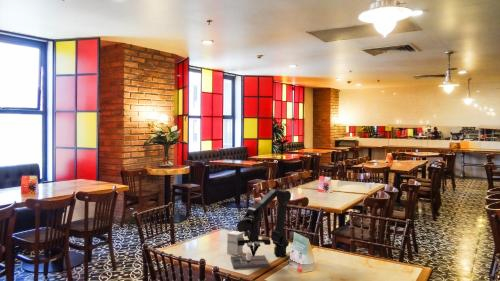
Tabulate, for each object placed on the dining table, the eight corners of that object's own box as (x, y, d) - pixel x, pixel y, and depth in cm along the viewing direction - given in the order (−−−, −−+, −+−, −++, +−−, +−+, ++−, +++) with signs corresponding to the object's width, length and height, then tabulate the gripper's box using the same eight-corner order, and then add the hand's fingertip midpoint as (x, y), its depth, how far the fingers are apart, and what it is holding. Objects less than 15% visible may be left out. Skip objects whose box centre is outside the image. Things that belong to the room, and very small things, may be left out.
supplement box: (226, 253, 236) (226, 233, 235) (232, 250, 242) (233, 230, 242) (237, 255, 233) (237, 234, 232) (243, 252, 239) (243, 231, 238)
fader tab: (249, 258, 221) (249, 250, 221) (250, 260, 218) (250, 252, 218) (246, 258, 221) (246, 250, 221) (247, 260, 218) (247, 252, 217)
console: (264, 258, 228) (264, 255, 228) (269, 267, 214) (269, 263, 214) (230, 259, 225) (230, 256, 225) (233, 268, 211) (233, 265, 211)
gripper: (267, 225, 229) (266, 251, 229) (235, 225, 226) (235, 252, 226) (271, 230, 218) (270, 257, 218) (238, 231, 215) (237, 258, 215)
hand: (253, 256), depth 220 cm, fingers closed
